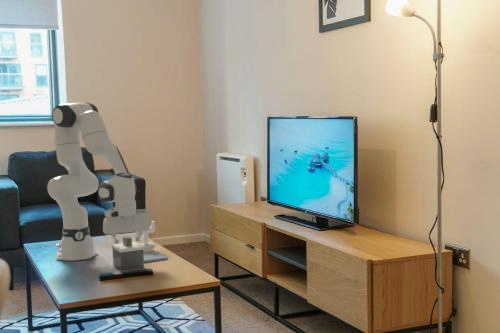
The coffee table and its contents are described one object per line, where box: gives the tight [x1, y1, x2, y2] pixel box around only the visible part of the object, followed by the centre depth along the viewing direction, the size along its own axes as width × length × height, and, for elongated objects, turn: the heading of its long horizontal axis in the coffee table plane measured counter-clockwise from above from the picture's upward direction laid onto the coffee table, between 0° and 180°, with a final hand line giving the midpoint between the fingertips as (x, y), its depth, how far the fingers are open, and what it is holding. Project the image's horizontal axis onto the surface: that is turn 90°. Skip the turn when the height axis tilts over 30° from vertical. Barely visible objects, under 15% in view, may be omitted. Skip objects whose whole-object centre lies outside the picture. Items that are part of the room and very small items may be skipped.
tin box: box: [112, 248, 145, 272], centre depth 290 cm, size 12×10×8 cm
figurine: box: [135, 220, 156, 253], centre depth 317 cm, size 7×9×15 cm
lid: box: [111, 235, 144, 252], centre depth 289 cm, size 13×11×6 cm
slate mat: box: [143, 251, 169, 264], centre depth 304 cm, size 14×12×1 cm
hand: (127, 242), depth 289 cm, fingers open, 8 cm apart
